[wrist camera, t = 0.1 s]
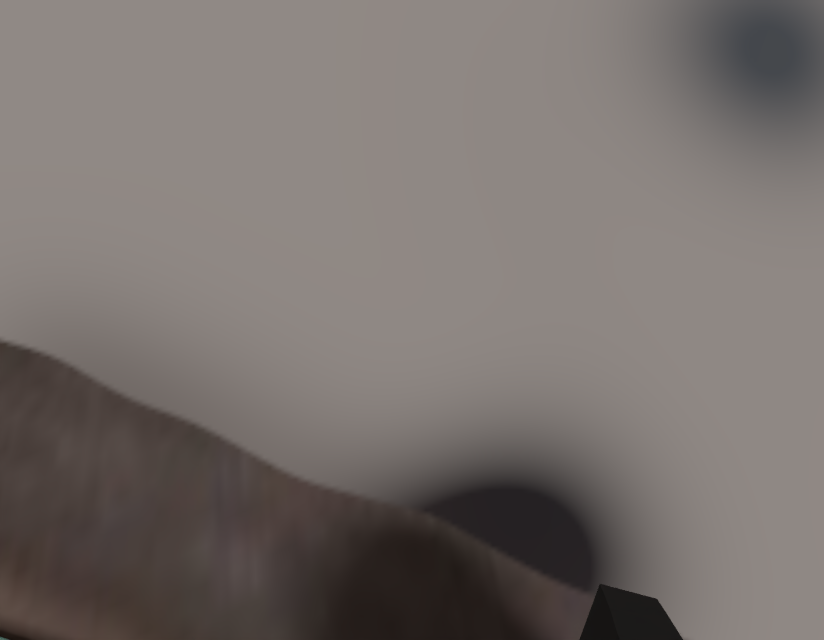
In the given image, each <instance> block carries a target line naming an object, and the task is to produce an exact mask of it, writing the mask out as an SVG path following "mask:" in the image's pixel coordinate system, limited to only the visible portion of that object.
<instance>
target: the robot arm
mask: <svg viewBox="0 0 824 640" xmlns="http://www.w3.org/2000/svg"><path fill="white" fill-rule="evenodd" d="M580 640H683V639H682V637H681V636H680V634H679V633H678V631H677V629H676V628H675V626H674V625H673V623H672V622H671V620H670V618H669V617H668V615H667V614H666V612H665V611H664V609H663V608H662V606H661V604H660V603H659V602H658V600H657V599H655V598H651V597H648V596H643V595H640V594H636V593H633V592H629V591H625V590H621V589H617V588H613V587H610V586H606V585H602V584H600V585H599V588H598V591H597V593H596V596H595V599H594V602H593V604H592V607H591V610H590V612H589V615H588V618H587V621H586V623H585V626H584V629H583V632H582V634H581V637H580Z"/></svg>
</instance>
